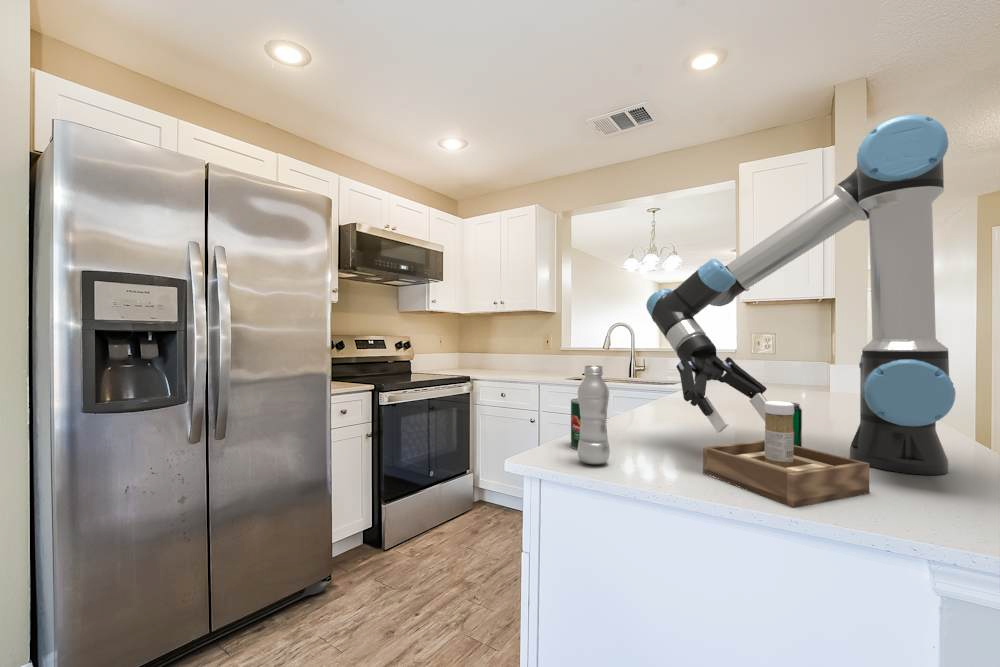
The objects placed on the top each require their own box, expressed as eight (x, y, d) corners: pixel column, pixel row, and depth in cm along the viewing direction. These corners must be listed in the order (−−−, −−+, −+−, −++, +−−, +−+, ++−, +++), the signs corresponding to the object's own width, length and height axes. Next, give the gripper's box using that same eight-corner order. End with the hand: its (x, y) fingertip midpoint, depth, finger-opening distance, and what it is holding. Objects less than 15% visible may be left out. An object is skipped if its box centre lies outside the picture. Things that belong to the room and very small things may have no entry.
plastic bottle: (615, 463, 93) (616, 366, 93) (598, 470, 88) (598, 367, 88) (588, 457, 98) (588, 364, 98) (570, 463, 93) (571, 366, 93)
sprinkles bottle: (779, 472, 84) (779, 400, 84) (800, 480, 79) (800, 403, 79) (757, 474, 83) (758, 400, 83) (778, 482, 78) (778, 404, 78)
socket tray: (771, 463, 93) (771, 439, 93) (869, 493, 76) (869, 463, 76) (702, 473, 86) (703, 447, 86) (793, 507, 70) (793, 475, 70)
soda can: (806, 464, 93) (806, 405, 93) (779, 462, 94) (779, 404, 94) (795, 457, 98) (795, 401, 98) (769, 456, 99) (769, 401, 99)
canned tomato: (602, 443, 110) (602, 398, 110) (607, 452, 102) (607, 403, 102) (569, 442, 111) (569, 397, 111) (571, 451, 103) (571, 402, 103)
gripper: (723, 355, 108) (782, 432, 94) (637, 356, 98) (688, 441, 85) (743, 333, 103) (808, 410, 89) (654, 332, 93) (711, 418, 80)
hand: (750, 426), depth 87 cm, fingers open, 13 cm apart
